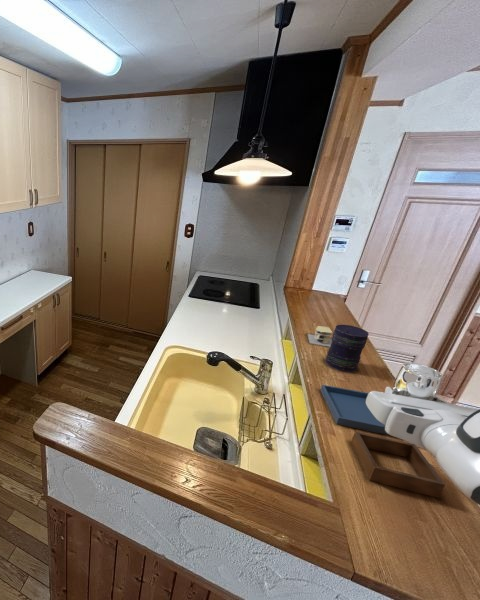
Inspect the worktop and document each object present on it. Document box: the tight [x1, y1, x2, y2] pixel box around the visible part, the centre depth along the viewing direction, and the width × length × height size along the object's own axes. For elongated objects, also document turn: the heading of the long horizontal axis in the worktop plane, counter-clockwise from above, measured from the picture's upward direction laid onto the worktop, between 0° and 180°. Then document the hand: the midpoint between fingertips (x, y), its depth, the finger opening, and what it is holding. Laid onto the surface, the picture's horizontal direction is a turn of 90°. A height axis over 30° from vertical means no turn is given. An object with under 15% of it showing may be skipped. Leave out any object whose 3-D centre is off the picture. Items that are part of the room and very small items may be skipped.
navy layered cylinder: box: [324, 324, 369, 373], centre depth 122 cm, size 10×10×15 cm
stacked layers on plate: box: [306, 325, 333, 348], centre depth 142 cm, size 10×9×6 cm
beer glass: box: [392, 362, 444, 401], centre depth 77 cm, size 7×7×15 cm
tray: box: [320, 384, 392, 437], centre depth 99 cm, size 15×17×2 cm
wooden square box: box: [350, 431, 446, 498], centre depth 80 cm, size 13×13×4 cm
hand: (409, 393), depth 77 cm, fingers closed on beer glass, 6 cm apart
